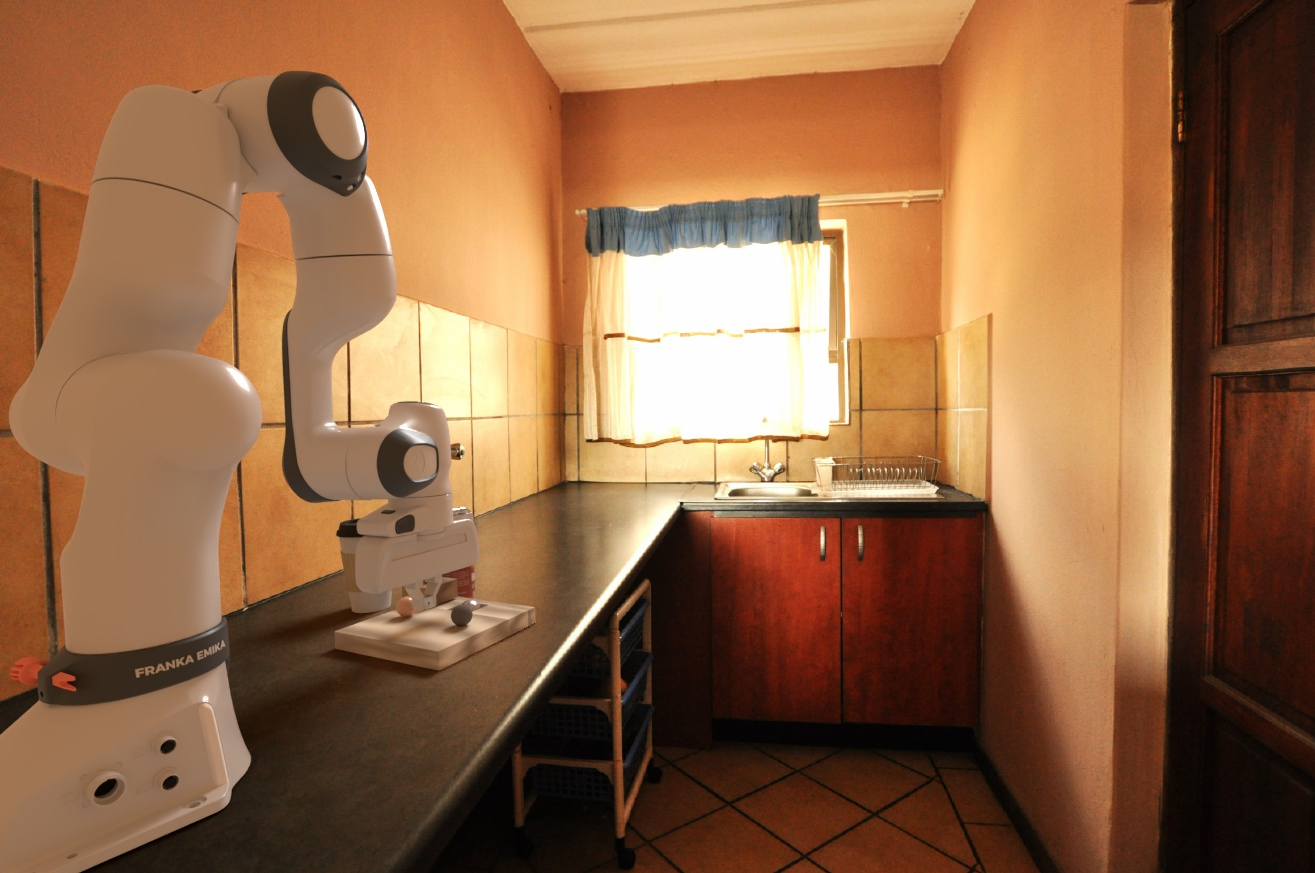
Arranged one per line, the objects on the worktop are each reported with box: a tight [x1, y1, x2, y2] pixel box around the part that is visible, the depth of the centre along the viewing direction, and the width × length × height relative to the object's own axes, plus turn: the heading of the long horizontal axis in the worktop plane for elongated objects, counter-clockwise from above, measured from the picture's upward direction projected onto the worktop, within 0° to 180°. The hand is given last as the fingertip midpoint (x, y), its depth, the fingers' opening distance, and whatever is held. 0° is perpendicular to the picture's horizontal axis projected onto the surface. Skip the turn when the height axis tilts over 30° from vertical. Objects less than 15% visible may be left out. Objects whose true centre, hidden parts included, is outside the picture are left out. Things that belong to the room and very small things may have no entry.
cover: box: [401, 577, 458, 605], centre depth 107 cm, size 6×6×4 cm
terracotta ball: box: [395, 596, 416, 617], centre depth 99 cm, size 3×3×3 cm
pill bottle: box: [442, 565, 477, 599], centre depth 115 cm, size 6×6×11 cm
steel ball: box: [462, 600, 481, 612], centre depth 103 cm, size 4×4×4 cm
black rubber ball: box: [451, 604, 473, 626], centre depth 94 cm, size 3×3×3 cm
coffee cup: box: [335, 517, 393, 614], centre depth 113 cm, size 10×10×15 cm
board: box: [334, 597, 537, 671], centre depth 98 cm, size 20×20×2 cm
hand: (424, 608), depth 96 cm, fingers closed
